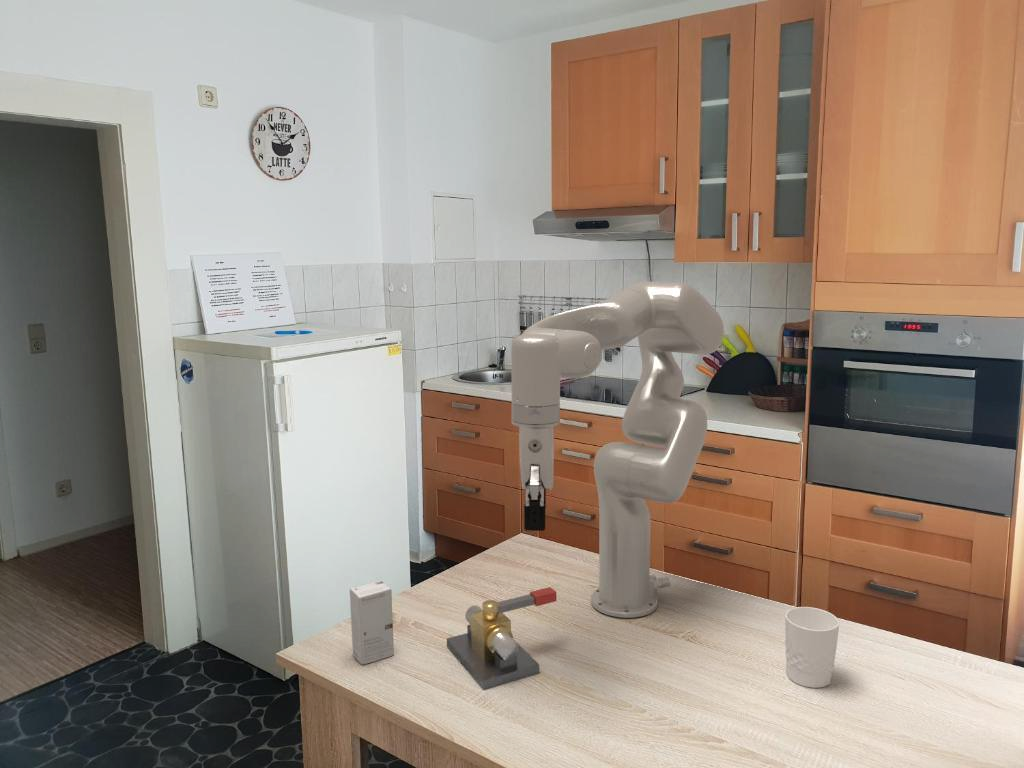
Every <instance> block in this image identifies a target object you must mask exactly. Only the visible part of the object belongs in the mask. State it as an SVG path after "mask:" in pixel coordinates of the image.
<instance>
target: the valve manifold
mask: <svg viewBox="0 0 1024 768" xmlns="http://www.w3.org/2000/svg"><path fill="white" fill-rule="evenodd" d="M464 618H465V620H466V622H468V624H467V626H466V627H467V628H466V629H467V633H462V634H458V635H455V636H451V637H448V638H446V647H447V649H448V650H449V651H450V652H451V653H452V654H453V655H454V657H455V658H456V659H457V660H458V661H459V662H460V664H461V665H462V666H463V667H464V668H465V669H466V670H465V671H467V672H468V673H469V674H470V676H471V677H472V678H473V679H474V680H475V682H476V683H477V684H478V685H479V686H480V687H481V689H482V690H483V691H484V690H487V689H491V688H493V687H497V686H501V685H503V684H507V683H511V682H513V681H517V680H520V679H523V678H526V677H530V676H534V675H537V674H539V673H540V663H539V662H537V660H536V659H534V658H533V657H532V656H531V655H530V654H529V653H528V651H526V650H525V648H523V647H522V646H521V645H520V644H519V643H518V642H517V641H516V640H515V639H514V636H513V633H512V620H511V619H510V618H509V617H508V616H506V614H504V612H503V613H500V614H498V617H497V618H495V619H485V618H484V617H483V608H482V607H480V606H479V605H472V606H470V607H469V608H468V609H467V610H466V611H465V617H464Z"/></svg>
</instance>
